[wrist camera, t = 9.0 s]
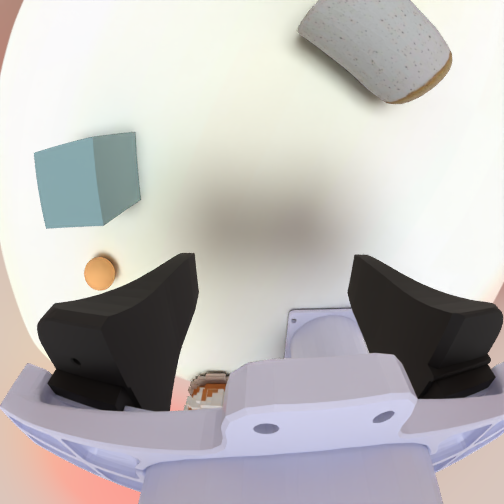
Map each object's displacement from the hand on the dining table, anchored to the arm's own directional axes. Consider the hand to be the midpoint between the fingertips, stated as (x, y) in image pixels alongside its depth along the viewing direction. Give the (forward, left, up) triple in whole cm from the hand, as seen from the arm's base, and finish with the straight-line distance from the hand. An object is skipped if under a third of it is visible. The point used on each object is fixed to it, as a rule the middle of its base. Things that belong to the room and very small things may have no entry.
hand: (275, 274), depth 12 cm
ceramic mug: (+15, -7, -10) cm, 19 cm away
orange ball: (-5, +15, -9) cm, 18 cm away
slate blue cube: (+4, +13, -9) cm, 17 cm away
